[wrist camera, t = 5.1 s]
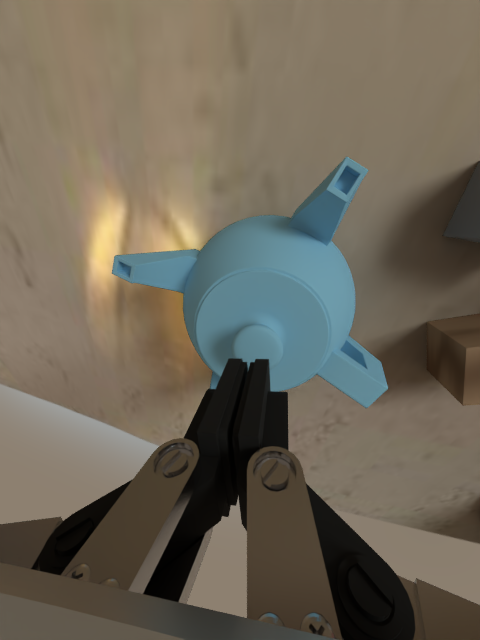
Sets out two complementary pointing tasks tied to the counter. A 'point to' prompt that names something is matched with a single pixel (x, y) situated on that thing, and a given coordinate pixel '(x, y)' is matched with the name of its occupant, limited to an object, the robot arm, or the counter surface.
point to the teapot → (273, 294)
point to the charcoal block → (467, 212)
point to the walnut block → (456, 356)
